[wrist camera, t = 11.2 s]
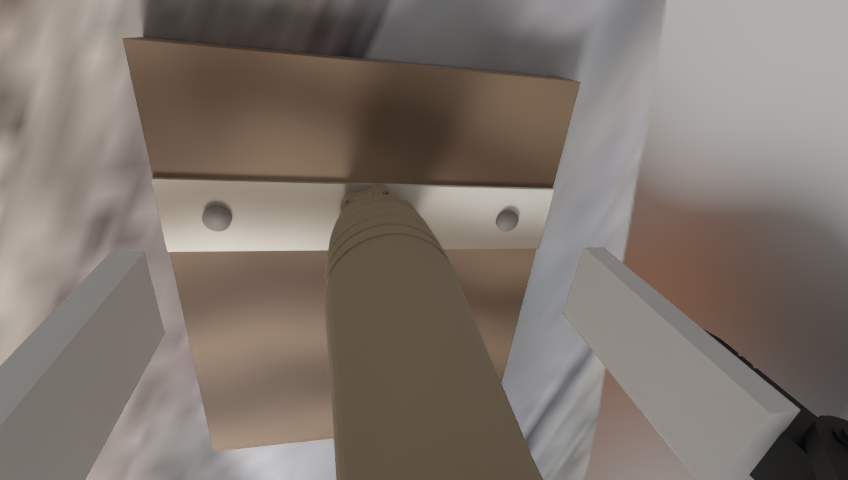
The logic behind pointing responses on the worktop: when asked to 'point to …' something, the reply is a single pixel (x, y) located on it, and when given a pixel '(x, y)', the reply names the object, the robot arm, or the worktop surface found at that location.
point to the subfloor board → (330, 202)
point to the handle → (409, 356)
